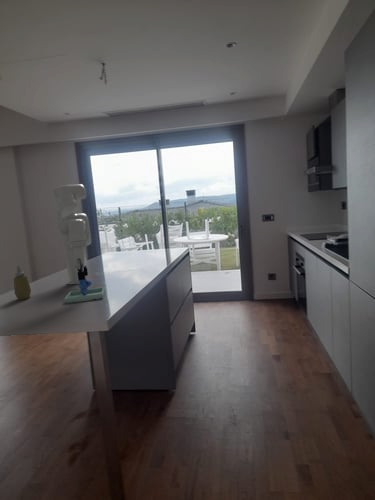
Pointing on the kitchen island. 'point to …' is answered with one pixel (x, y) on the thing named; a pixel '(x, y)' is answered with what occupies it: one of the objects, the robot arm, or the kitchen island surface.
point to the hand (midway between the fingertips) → (83, 277)
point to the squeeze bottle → (21, 285)
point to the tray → (92, 294)
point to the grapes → (84, 286)
